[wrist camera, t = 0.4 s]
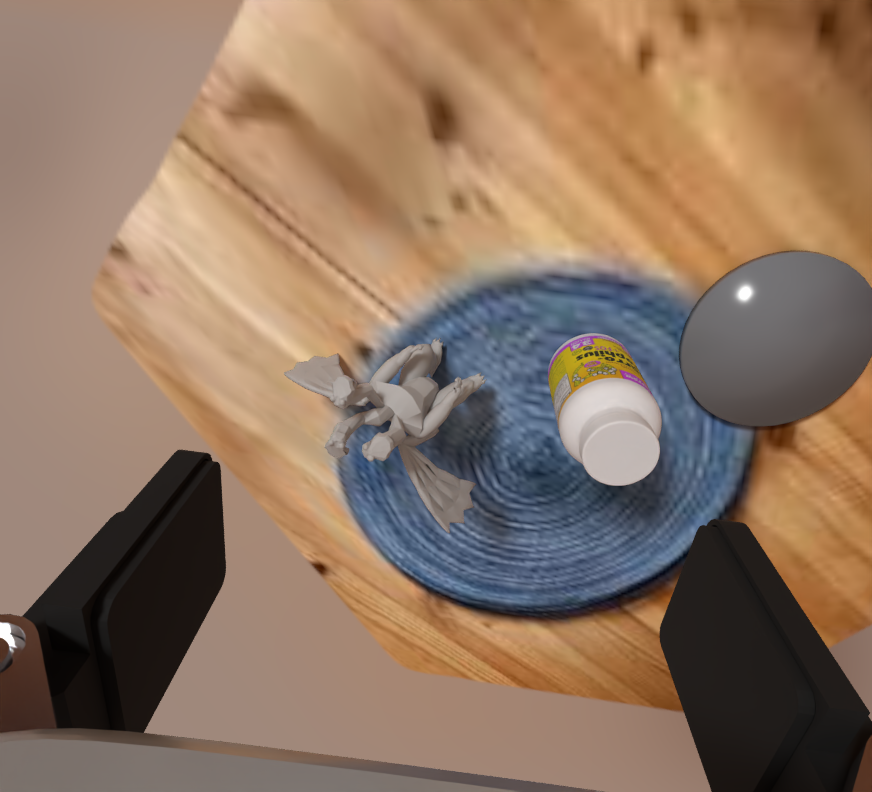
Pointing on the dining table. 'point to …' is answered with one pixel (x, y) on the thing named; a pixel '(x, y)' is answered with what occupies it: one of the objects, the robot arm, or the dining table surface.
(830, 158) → the dining table surface
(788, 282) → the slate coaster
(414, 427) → the fairy figurine
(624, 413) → the supplement bottle
